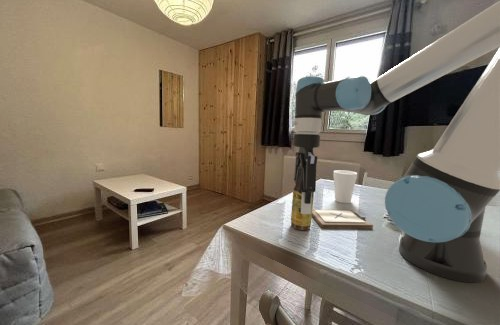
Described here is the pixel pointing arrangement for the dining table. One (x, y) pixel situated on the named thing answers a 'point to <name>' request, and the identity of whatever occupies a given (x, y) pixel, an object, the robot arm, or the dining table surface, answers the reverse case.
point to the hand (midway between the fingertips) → (302, 208)
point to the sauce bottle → (297, 218)
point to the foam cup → (344, 185)
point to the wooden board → (341, 219)
